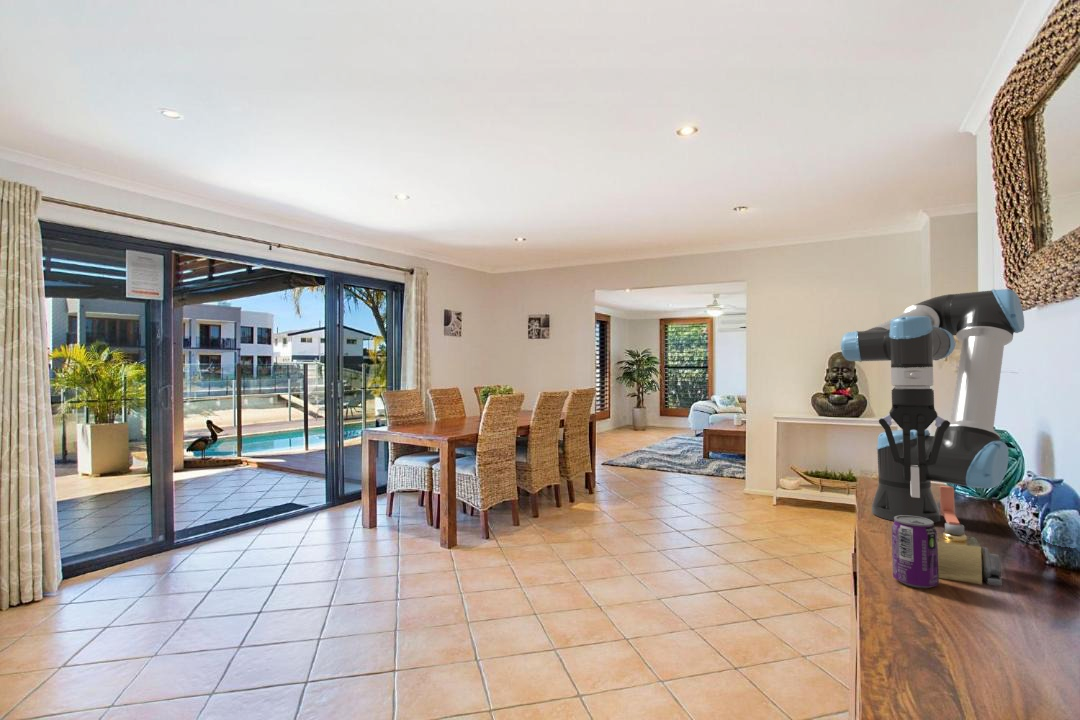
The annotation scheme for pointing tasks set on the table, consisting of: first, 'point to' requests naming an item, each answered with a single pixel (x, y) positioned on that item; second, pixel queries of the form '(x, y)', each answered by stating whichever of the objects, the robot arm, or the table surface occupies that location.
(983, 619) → the table surface
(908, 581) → the beverage can
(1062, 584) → the table surface
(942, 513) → the lever
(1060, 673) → the table surface
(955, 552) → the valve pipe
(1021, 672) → the table surface
